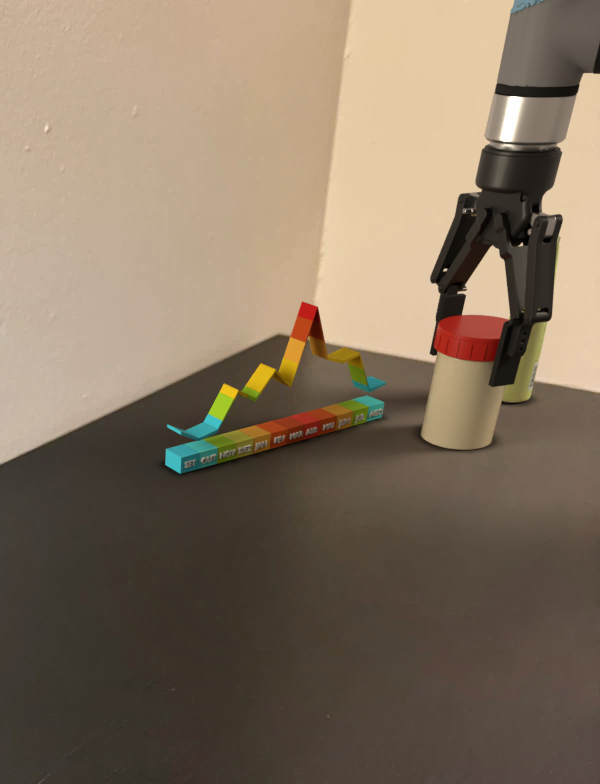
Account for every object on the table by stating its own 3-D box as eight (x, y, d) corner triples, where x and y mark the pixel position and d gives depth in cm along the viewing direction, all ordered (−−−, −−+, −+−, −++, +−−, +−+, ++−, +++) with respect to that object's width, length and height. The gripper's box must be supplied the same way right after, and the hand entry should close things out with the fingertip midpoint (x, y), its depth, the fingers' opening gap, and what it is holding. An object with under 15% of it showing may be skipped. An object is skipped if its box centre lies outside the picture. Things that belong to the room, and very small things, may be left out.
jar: (506, 444, 114) (534, 338, 106) (446, 454, 112) (470, 346, 105) (464, 420, 120) (488, 318, 112) (407, 429, 118) (427, 325, 111)
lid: (537, 356, 107) (543, 333, 106) (465, 365, 105) (470, 342, 104) (486, 332, 114) (491, 311, 112) (417, 341, 112) (421, 319, 111)
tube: (476, 395, 126) (515, 229, 114) (499, 386, 129) (540, 222, 117) (515, 407, 123) (560, 236, 111) (538, 397, 125) (585, 230, 113)
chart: (181, 474, 109) (189, 336, 100) (165, 464, 111) (171, 328, 102) (383, 418, 121) (406, 289, 112) (364, 410, 123) (385, 283, 114)
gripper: (639, 159, 89) (567, 398, 103) (484, 127, 107) (439, 335, 120) (570, 164, 88) (505, 407, 101) (424, 131, 105) (385, 342, 119)
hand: (470, 368), depth 111 cm, fingers open, 10 cm apart
